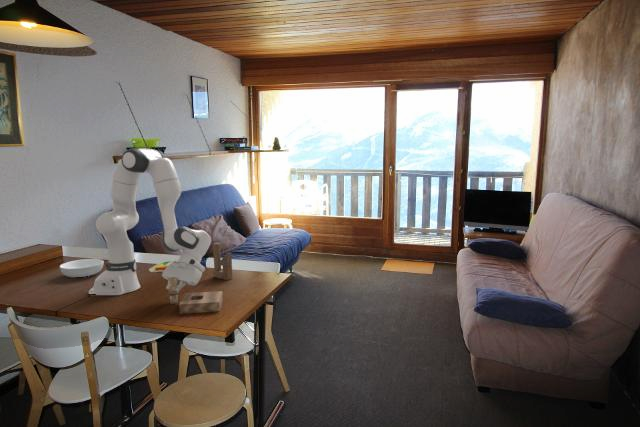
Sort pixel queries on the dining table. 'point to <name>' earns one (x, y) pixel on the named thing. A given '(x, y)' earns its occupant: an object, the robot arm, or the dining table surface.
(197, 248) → the robot arm
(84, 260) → the serving bowl
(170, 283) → the peg
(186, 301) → the board
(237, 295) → the dining table surface
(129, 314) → the dining table surface
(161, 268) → the wooden puzzle
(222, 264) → the wooden block
